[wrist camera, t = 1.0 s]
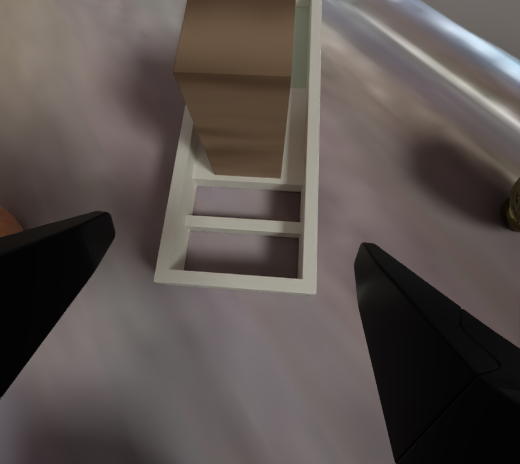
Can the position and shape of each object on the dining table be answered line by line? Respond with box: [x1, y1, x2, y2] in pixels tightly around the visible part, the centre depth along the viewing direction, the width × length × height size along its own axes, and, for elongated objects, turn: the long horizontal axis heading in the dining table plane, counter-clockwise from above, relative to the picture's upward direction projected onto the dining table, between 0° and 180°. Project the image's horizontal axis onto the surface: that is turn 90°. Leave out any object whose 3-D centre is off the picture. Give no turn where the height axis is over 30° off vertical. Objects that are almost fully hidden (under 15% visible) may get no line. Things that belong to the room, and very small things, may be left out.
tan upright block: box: [173, 0, 296, 179], centre depth 19 cm, size 8×6×11 cm
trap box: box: [153, 0, 322, 296], centre depth 25 cm, size 32×12×4 cm, turn 176°
